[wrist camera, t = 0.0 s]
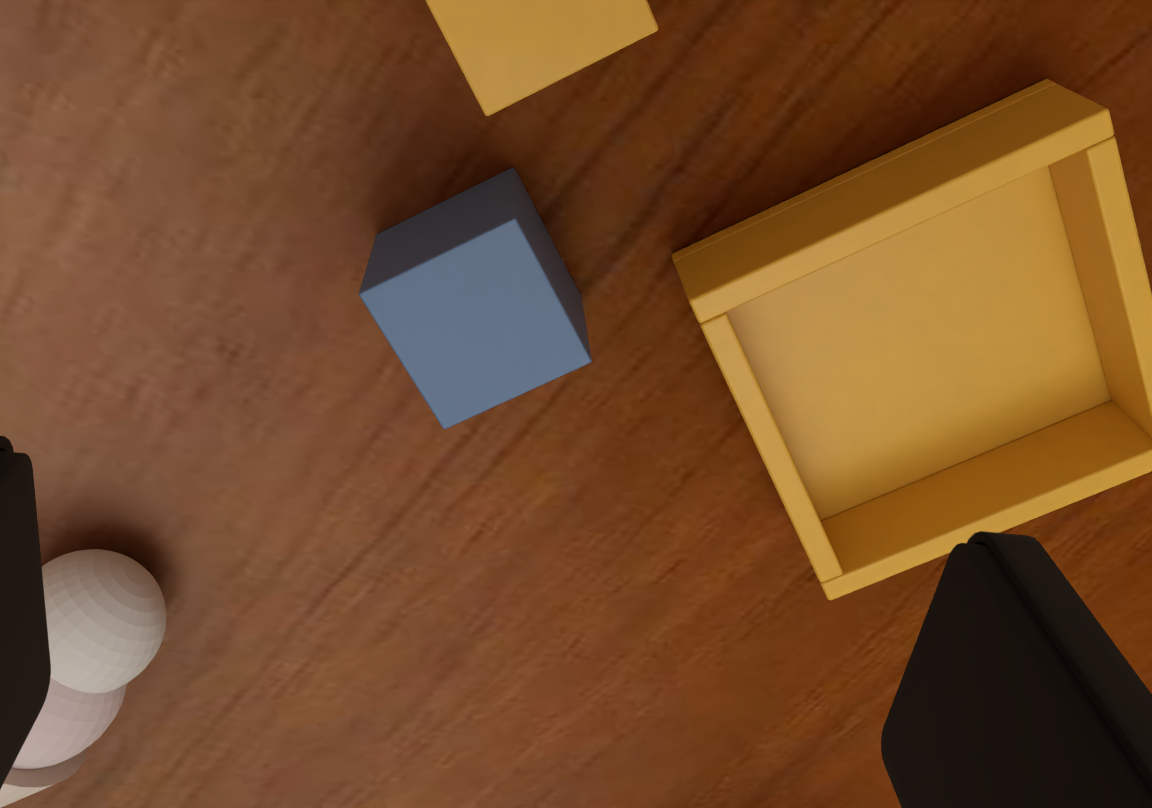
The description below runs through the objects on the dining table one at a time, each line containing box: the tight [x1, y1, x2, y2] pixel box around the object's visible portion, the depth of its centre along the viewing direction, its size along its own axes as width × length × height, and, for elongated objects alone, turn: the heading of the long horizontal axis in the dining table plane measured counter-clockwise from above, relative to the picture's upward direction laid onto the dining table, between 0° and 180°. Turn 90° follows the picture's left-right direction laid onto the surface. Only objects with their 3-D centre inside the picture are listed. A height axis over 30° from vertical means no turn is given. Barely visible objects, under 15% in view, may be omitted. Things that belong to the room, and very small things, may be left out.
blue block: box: [359, 167, 592, 429], centre depth 30 cm, size 4×4×4 cm
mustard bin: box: [671, 79, 1152, 600], centre depth 33 cm, size 12×12×4 cm
